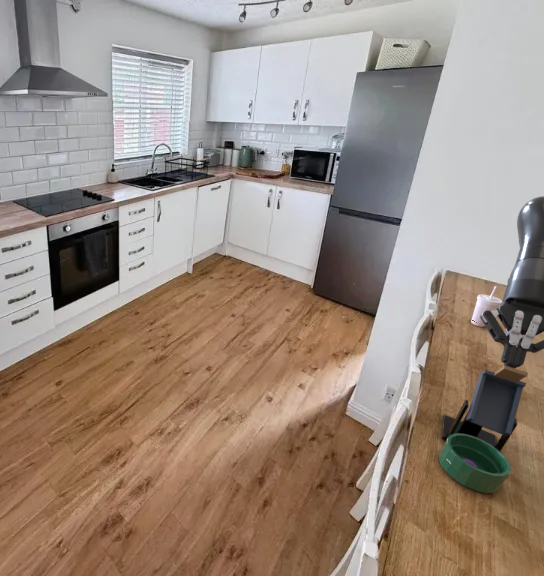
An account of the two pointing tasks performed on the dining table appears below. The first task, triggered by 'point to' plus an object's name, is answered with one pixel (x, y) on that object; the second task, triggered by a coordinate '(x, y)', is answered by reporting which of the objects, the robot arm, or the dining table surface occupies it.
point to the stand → (471, 429)
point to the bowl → (483, 454)
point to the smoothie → (485, 307)
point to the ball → (470, 462)
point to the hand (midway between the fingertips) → (510, 366)
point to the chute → (497, 399)
